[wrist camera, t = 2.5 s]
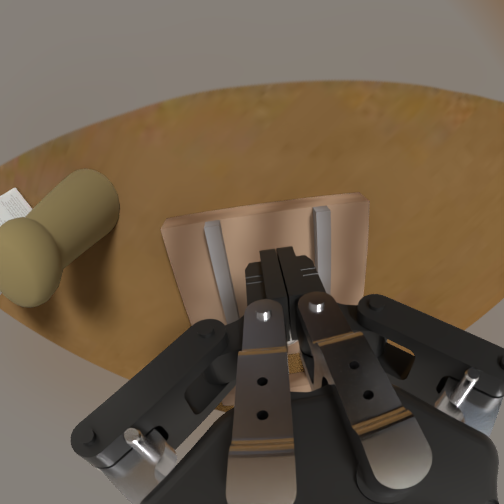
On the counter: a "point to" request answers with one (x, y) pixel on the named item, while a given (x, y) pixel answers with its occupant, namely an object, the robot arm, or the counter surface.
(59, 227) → the olive knob stopper
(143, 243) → the counter surface
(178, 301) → the counter surface
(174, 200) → the counter surface
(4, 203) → the skincare box
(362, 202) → the walnut channel
